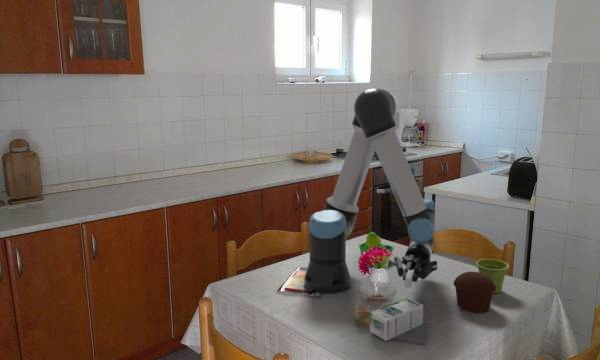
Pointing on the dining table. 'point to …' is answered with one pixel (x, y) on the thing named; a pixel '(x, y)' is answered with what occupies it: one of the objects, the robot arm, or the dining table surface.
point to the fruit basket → (373, 243)
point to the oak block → (362, 315)
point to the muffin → (474, 292)
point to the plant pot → (493, 271)
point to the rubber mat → (414, 335)
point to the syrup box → (396, 318)
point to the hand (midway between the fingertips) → (407, 283)
